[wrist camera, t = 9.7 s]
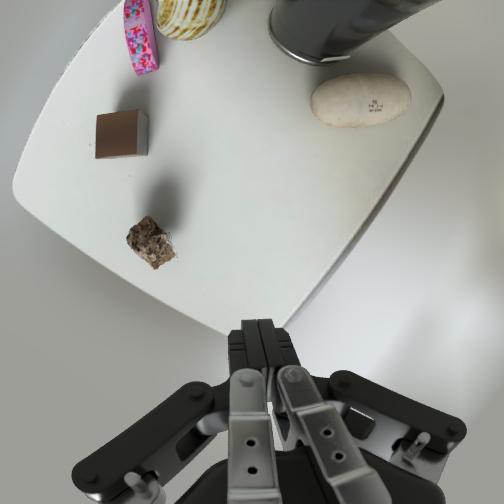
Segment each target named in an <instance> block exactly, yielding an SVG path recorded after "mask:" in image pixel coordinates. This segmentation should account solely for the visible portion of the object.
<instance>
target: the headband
mask: <svg viewBox="0 0 504 504" xmlns="http://www.w3.org/2000/svg"><path fill="white" fill-rule="evenodd" d="M124 29H125V36H126V41H127V46H128V50H129V54H130V58H131V61H132V64H133V67H134V70H135V72H136V74H137V75H138V76H140V75H142V74H145V73H148V72H151V71H154V70H157V69H159V62H158V55H157V48H156V42H155V36H154V30H153V24H152V18H151V12H150V6H149V1H148V0H126V1H125V4H124Z"/></svg>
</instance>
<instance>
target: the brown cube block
mask: <svg viewBox="0 0 504 504" xmlns="http://www.w3.org/2000/svg"><path fill="white" fill-rule="evenodd" d="M148 124H149V116H147V115H145V114H144V113H142V112H141V111H139V110H130V111H122V112H115V113H108V114H102V115H97V123H96V153H95V158H96V159H113V158H123V157H135V156H147V155H148Z"/></svg>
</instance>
